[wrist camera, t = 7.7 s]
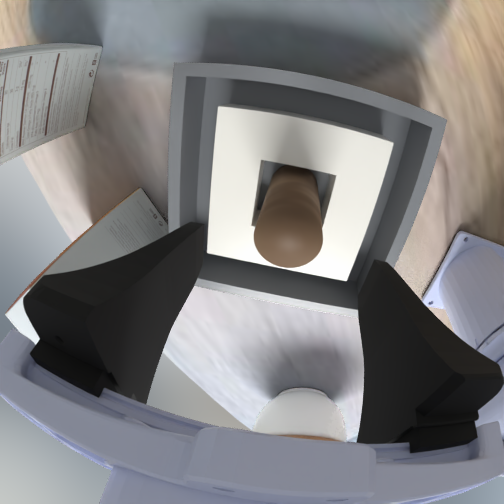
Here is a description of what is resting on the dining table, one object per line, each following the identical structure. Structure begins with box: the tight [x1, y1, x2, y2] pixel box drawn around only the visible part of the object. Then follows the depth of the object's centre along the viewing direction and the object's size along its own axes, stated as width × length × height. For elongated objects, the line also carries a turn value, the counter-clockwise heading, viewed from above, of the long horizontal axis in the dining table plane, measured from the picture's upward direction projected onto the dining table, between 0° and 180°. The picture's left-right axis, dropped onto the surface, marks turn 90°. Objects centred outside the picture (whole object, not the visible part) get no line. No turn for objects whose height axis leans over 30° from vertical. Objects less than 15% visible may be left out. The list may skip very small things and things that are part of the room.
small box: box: [5, 188, 169, 344], centre depth 19 cm, size 8×6×13 cm
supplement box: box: [0, 43, 102, 165], centre depth 11 cm, size 7×7×13 cm
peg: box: [254, 165, 323, 268], centre depth 16 cm, size 3×3×7 cm
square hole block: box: [168, 63, 447, 318], centre depth 18 cm, size 15×15×4 cm
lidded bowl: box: [252, 388, 347, 442], centre depth 31 cm, size 13×13×11 cm
